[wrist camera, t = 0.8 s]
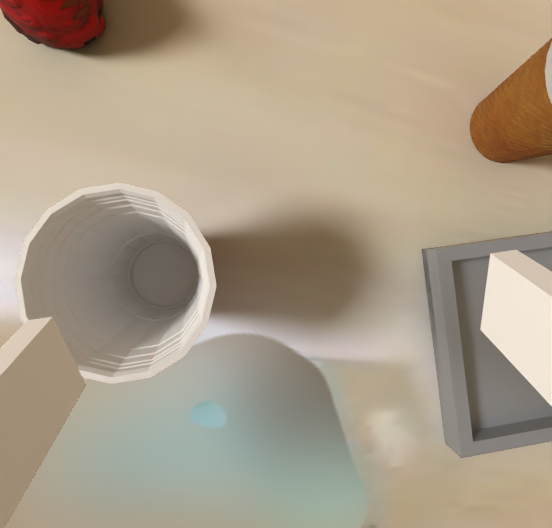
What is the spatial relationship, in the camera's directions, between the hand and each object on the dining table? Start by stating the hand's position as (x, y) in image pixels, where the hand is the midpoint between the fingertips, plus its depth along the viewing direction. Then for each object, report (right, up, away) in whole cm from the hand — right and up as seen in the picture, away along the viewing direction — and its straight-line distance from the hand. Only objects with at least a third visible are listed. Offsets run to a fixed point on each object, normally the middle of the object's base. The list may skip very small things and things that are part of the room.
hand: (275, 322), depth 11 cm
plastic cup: (-10, +1, +20) cm, 22 cm away
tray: (+23, -5, +23) cm, 33 cm away
